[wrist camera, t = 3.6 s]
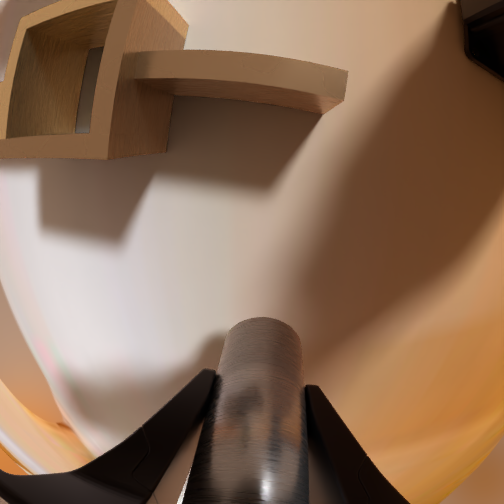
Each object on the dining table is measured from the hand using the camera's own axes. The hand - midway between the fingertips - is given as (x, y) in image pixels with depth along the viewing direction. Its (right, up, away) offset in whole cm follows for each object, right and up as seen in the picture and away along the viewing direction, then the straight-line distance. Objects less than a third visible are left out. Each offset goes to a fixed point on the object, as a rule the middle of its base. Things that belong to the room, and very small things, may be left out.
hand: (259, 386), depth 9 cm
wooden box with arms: (-7, +12, +2) cm, 14 cm away
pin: (0, +1, +2) cm, 2 cm away
